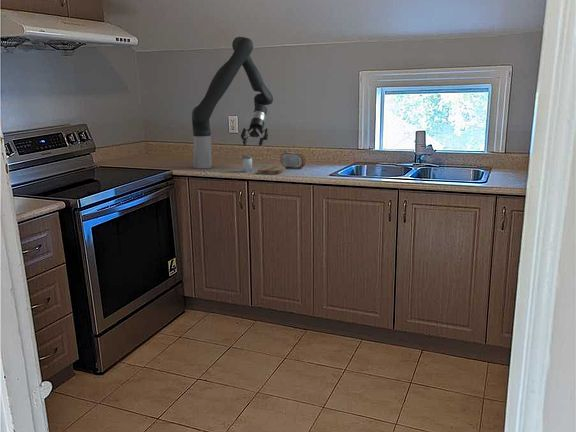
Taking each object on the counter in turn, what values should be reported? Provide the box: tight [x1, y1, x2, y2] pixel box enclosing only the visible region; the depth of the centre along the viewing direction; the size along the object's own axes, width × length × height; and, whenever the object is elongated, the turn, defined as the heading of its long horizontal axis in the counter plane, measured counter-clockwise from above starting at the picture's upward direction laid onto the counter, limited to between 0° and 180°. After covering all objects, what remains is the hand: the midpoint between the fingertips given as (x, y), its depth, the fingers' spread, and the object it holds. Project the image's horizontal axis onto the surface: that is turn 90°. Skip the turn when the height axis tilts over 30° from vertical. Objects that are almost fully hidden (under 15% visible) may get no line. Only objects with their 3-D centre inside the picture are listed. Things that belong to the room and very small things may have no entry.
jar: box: [242, 154, 253, 173], centre depth 279 cm, size 5×5×8 cm
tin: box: [280, 151, 306, 169], centre depth 291 cm, size 15×3×8 cm, turn 56°
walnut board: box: [257, 165, 286, 175], centre depth 277 cm, size 11×14×2 cm
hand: (252, 144), depth 285 cm, fingers open, 8 cm apart
